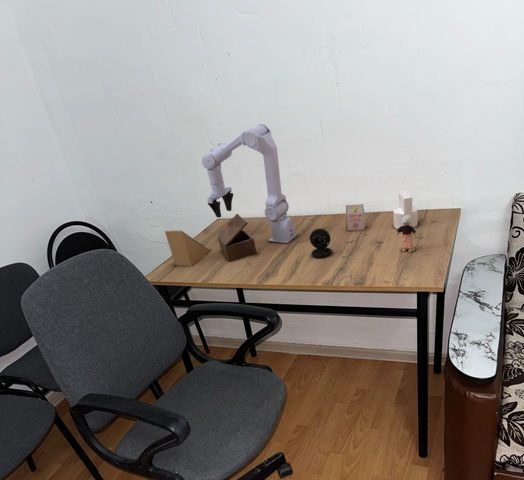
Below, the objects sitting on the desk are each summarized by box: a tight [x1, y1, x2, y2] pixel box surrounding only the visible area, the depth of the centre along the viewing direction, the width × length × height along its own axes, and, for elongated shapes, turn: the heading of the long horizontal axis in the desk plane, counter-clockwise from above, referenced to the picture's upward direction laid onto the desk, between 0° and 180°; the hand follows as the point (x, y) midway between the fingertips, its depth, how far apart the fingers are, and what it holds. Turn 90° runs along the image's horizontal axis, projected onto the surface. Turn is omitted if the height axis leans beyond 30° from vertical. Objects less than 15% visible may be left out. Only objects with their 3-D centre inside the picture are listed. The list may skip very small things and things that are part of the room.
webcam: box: [309, 228, 333, 259], centre depth 175 cm, size 8×8×10 cm
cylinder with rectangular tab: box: [393, 190, 419, 230], centre depth 183 cm, size 9×9×12 cm
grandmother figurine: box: [395, 215, 418, 253], centre depth 164 cm, size 8×4×13 cm, turn 65°
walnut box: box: [217, 228, 257, 263], centre depth 192 cm, size 12×14×6 cm
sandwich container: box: [164, 229, 211, 267], centre depth 194 cm, size 9×15×15 cm, turn 154°
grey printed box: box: [345, 203, 366, 232], centre depth 189 cm, size 4×7×10 cm, turn 70°
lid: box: [216, 213, 249, 246], centre depth 189 cm, size 12×14×1 cm
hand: (224, 213), depth 206 cm, fingers open, 7 cm apart
